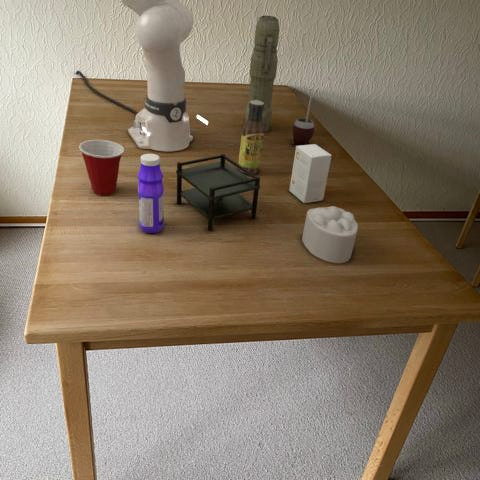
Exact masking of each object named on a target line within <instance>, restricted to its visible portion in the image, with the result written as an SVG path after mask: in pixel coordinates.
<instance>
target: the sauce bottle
mask: <svg viewBox="0 0 480 480" xmlns="http://www.w3.org/2000/svg"><path fill="white" fill-rule="evenodd" d="M263 108H264V103H263V102H262V101H258V100H252V101H250V103H249V115H248V119H247V121H245V122H244V123H243V125H242V131H241V137H240V138H241V139H240V146H239V147H240V148H239V156H238V163H237V164H239V165H240V166H242V167H243V168H245V169H246V170H248V171H249V172H251V173H252V174H254V175H255V174H258V172H259V168H260V164H261V158H262V150H263V145H264V137H265V132H264V125H263V123H262V121H261V120H262V112H263ZM237 170H238V171H239V172H241V173H242V174H245V175H246V174H247V173H245V172H244V171H242V170H241V169H239V168H238V167H237ZM247 175H248V174H247Z"/></svg>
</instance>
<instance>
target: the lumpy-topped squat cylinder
mask: <svg viewBox="0 0 480 480" xmlns="http://www.w3.org/2000/svg"><path fill="white" fill-rule="evenodd" d="M358 230H359V225H358V222H357V221H356V219H355V216H354V214H353V213H352V212H350V211H346V210H345V209H343V208H341V207H337V206H335V205H331V206H326V207H320V206H319V207H315V208H309V209H308V210H307V212H306V216H305V221H304V228H303V233H302V238H301V240H302V243H303V244H304V246H305V248H306V249H307V250H308V252H309V253H310V254H312V255H313V256H315V257H317V258H319V260H323V261H325V262H329V263H333V264H344V263H347V262H348V261H350V259H351V257H352V253H353V249H354V245H355V243H356V238H357V235H358Z"/></svg>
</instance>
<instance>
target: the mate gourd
mask: <svg viewBox="0 0 480 480" xmlns="http://www.w3.org/2000/svg"><path fill="white" fill-rule="evenodd" d="M312 99H313V93H310V97H309V101H308V104H307V106H308V107H307V112H306V117H299V118H297V119H296V120H295V121H294V122H293V125H292V139H293V142H292V146H294V147H296V146H301V145H311V144H310V140H311V139H312V138H313V136H314V134H315V124H314V121H313V120H311V119H310V118H309V116H310V109H311V106H312Z"/></svg>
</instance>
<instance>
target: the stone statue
mask: <svg viewBox="0 0 480 480" xmlns="http://www.w3.org/2000/svg"><path fill="white" fill-rule="evenodd" d="M279 22H280V21H279V19H278V18H277V17H276V16H274V15H261V16H259V17H258V19H257V22H256V24H255V30H254V41H253V43H254V47H253V51H252V54H251V56H250V62H249V63H250V64H249V65H250V66H249V79H250V80H249V91H248V102H247V105H246V108H245V118H244V121H245V122H246V121H247V119H248V115H249V103H250V101H252V100H258V101H262V102H263V103H264V108H263V112H262V120H261V121H262V123H263V125H264V133H267V132H269V131H270V125H271V123H272V114H273V110H272V100H273V93H274V92H273V91H274V82H275V79H276V78H277V69H278V64H279V63H278V62H279V60H278V59H279V58H278V50H277V48H278V46H279V37H280V23H279Z"/></svg>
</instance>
